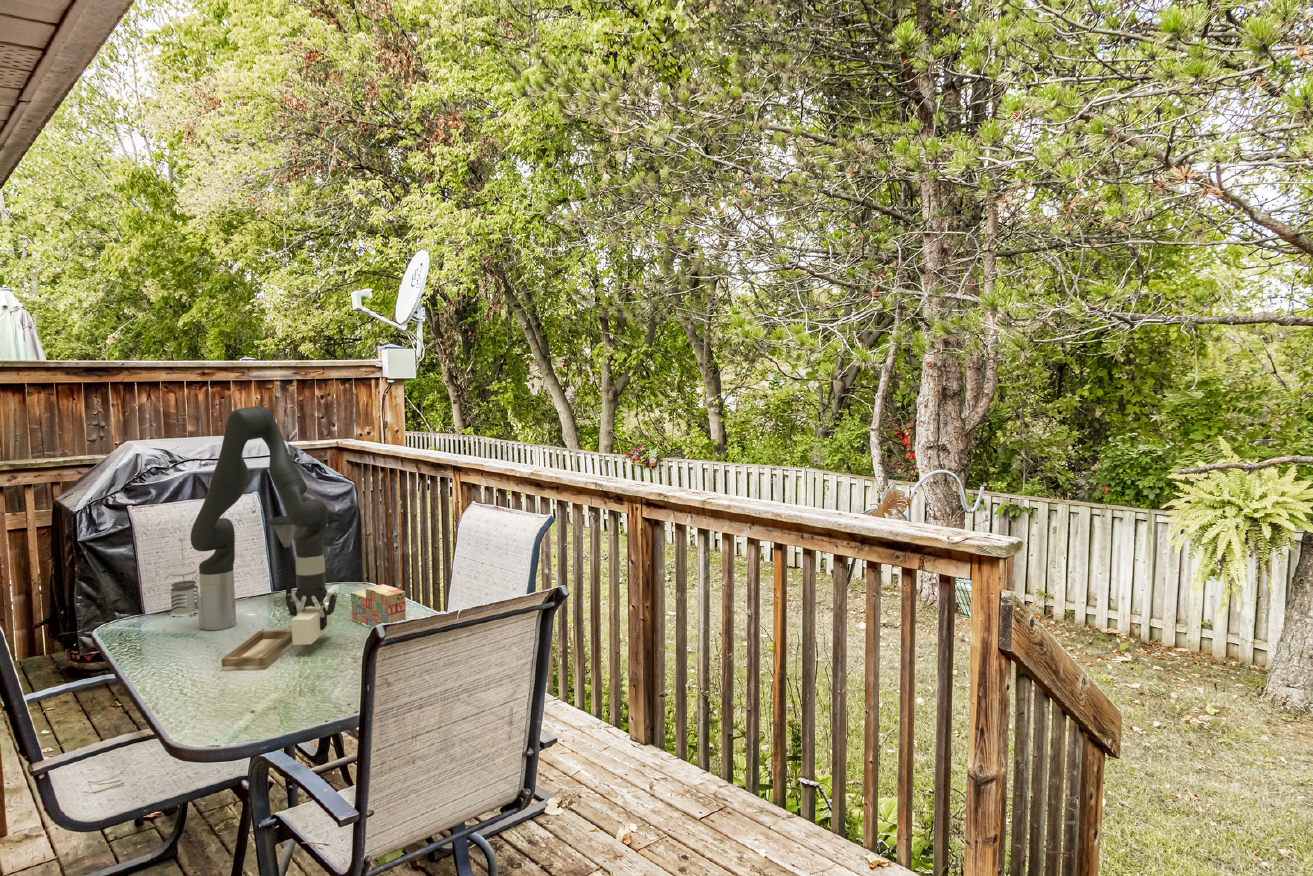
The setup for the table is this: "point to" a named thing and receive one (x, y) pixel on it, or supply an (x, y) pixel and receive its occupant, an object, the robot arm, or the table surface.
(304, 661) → the table surface
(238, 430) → the robot arm
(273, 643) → the wooden serving tray
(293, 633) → the block
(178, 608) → the french press
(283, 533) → the solar garden light
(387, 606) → the stack of blocks
